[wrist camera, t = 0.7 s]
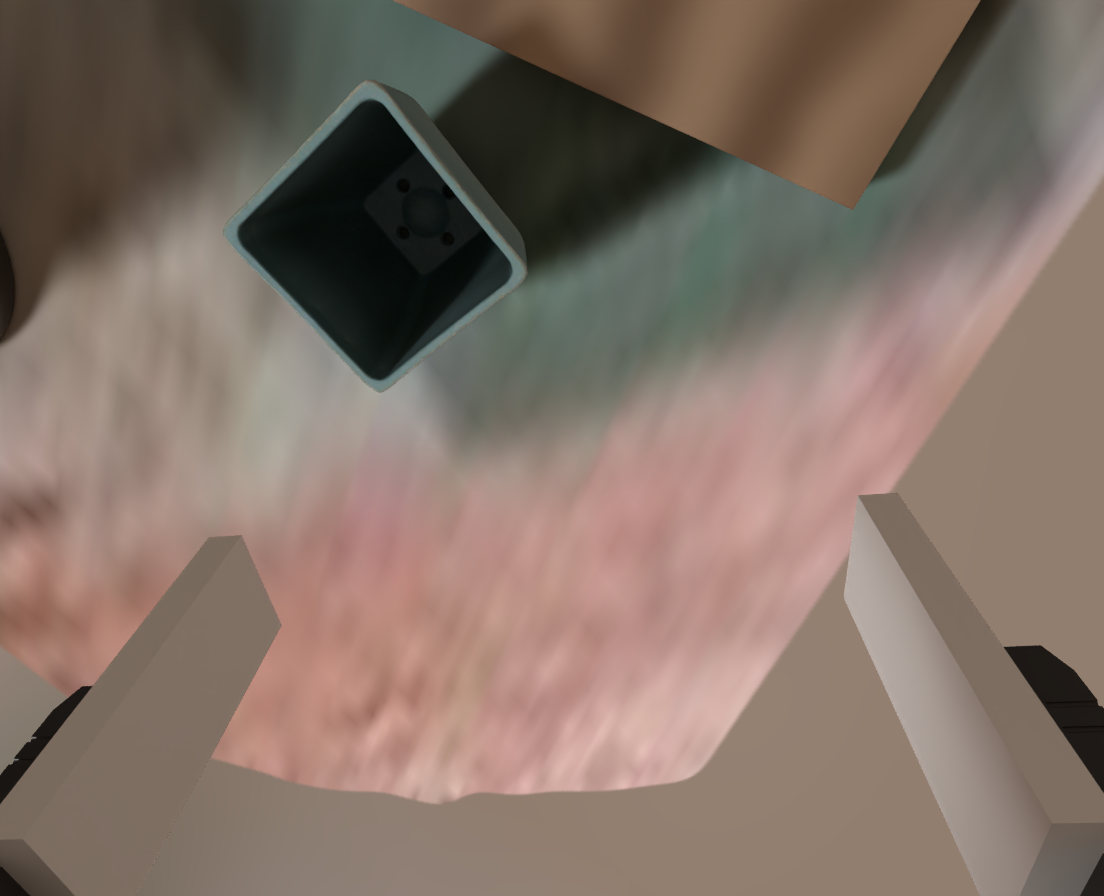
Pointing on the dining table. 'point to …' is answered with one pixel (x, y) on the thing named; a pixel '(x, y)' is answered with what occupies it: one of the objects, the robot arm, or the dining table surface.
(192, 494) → the dining table surface
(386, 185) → the flower pot
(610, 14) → the walnut board
